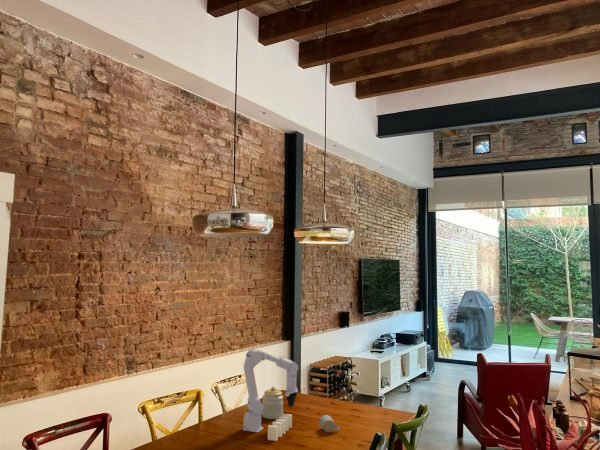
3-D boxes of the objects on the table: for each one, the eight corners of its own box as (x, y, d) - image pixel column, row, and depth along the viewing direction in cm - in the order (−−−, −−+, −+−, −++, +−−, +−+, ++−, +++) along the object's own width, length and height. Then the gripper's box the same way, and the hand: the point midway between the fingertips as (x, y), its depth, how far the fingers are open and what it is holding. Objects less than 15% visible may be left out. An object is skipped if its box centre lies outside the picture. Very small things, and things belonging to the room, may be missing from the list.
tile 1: (282, 427, 264) (282, 414, 265) (283, 426, 266) (283, 413, 267) (290, 428, 263) (290, 415, 263) (291, 427, 265) (291, 414, 265)
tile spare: (267, 439, 245) (267, 426, 245) (269, 438, 246) (269, 424, 247) (276, 441, 243) (276, 427, 244) (277, 439, 245) (278, 426, 245)
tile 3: (275, 432, 255) (275, 419, 256) (277, 431, 257) (277, 418, 258) (284, 434, 253) (284, 420, 254) (285, 432, 255) (285, 419, 256)
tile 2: (279, 429, 260) (279, 417, 260) (280, 428, 262) (280, 416, 262) (287, 431, 258) (287, 418, 259) (288, 430, 260) (288, 417, 261)
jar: (280, 420, 276) (280, 390, 278) (259, 418, 279) (260, 388, 280) (285, 413, 289) (285, 385, 290) (265, 412, 291) (266, 383, 293)
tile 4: (272, 435, 250) (272, 422, 251) (273, 434, 252) (273, 421, 253) (280, 437, 249) (280, 423, 249) (282, 435, 250) (282, 422, 251)
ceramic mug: (323, 433, 255) (323, 419, 255) (318, 428, 263) (319, 414, 263) (341, 432, 257) (341, 418, 258) (336, 427, 265) (336, 414, 266)
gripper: (293, 385, 264) (293, 410, 263) (302, 380, 278) (301, 403, 276) (282, 384, 267) (281, 408, 265) (291, 379, 280) (290, 402, 279)
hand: (291, 406), depth 271 cm, fingers closed
